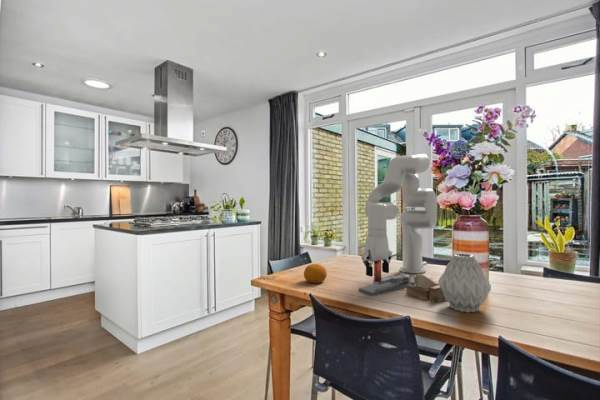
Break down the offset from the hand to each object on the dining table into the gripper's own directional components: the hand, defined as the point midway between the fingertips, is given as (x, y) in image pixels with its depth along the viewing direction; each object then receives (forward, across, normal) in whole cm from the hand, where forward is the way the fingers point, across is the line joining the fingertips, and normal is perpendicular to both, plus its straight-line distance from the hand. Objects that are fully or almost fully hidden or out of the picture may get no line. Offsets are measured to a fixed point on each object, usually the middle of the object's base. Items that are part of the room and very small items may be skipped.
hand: (377, 274), depth 131 cm
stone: (+7, -12, +14) cm, 20 cm away
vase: (+7, -8, +32) cm, 34 cm away
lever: (+5, -9, +1) cm, 10 cm away
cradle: (+7, -12, +16) cm, 21 cm away
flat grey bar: (+7, -6, 0) cm, 9 cm away
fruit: (+7, +13, -26) cm, 30 cm away
